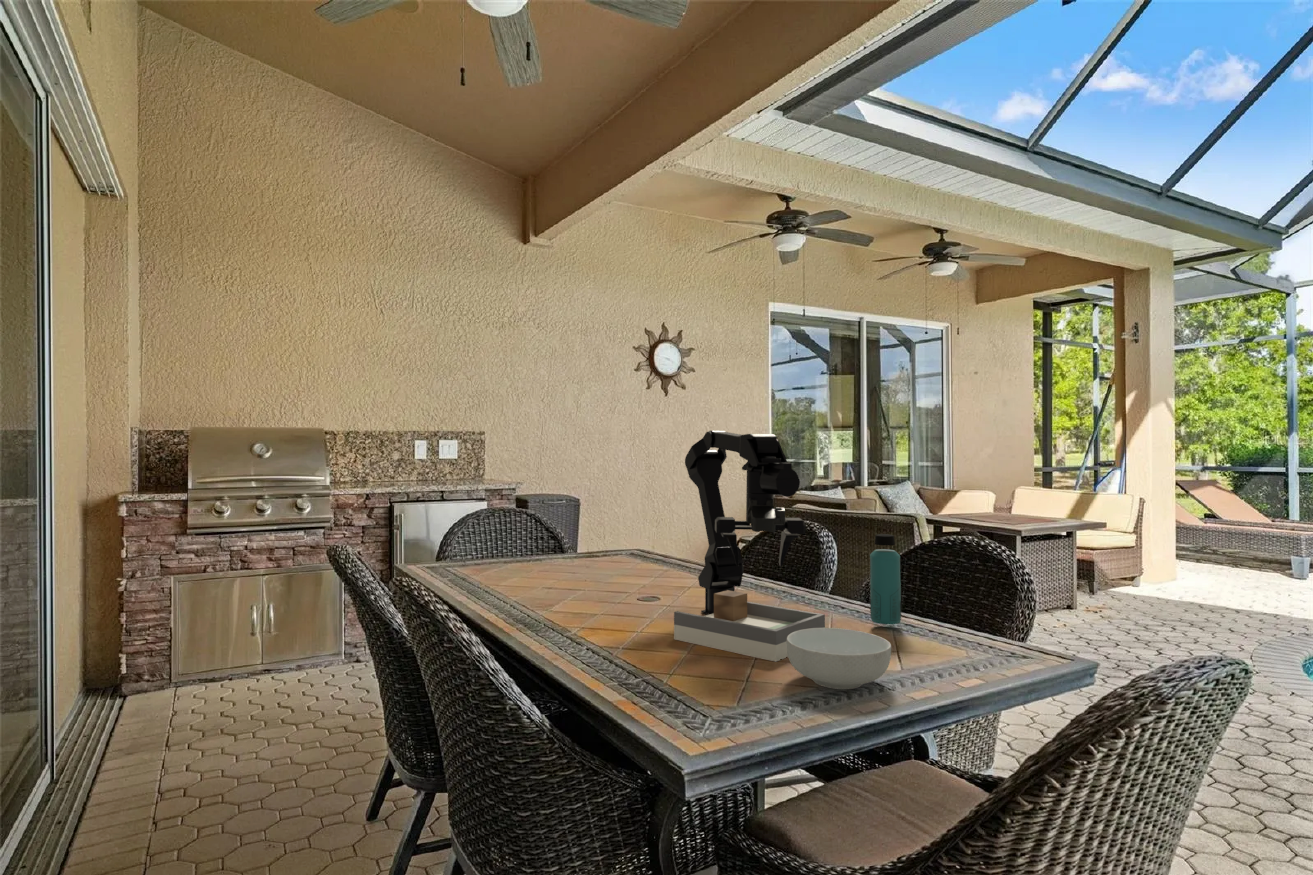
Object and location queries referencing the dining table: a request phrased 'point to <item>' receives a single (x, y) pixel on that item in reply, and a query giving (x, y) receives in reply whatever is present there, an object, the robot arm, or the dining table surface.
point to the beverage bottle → (885, 583)
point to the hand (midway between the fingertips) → (759, 565)
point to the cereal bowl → (838, 656)
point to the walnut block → (730, 605)
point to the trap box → (747, 630)
